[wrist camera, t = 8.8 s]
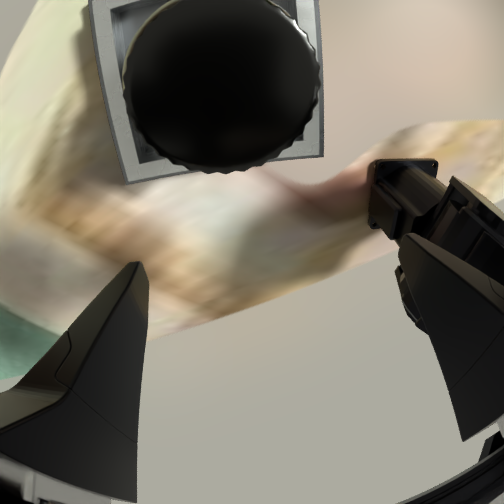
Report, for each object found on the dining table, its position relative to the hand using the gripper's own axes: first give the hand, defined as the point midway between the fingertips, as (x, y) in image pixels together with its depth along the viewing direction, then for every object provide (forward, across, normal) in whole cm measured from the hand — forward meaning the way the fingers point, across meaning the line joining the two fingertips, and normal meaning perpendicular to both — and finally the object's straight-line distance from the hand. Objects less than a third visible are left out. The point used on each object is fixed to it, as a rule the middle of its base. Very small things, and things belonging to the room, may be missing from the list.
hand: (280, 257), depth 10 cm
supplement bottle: (+12, +2, -6) cm, 13 cm away
